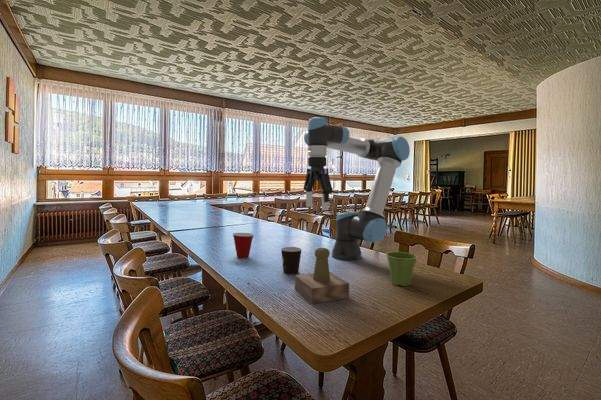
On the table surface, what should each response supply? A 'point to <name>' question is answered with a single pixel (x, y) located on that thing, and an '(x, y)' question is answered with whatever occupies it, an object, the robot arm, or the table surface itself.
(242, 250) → the plastic cup
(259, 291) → the table surface
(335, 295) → the walnut pedestal
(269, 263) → the table surface
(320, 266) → the pepper mill
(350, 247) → the robot arm
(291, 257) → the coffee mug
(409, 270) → the plant pot
